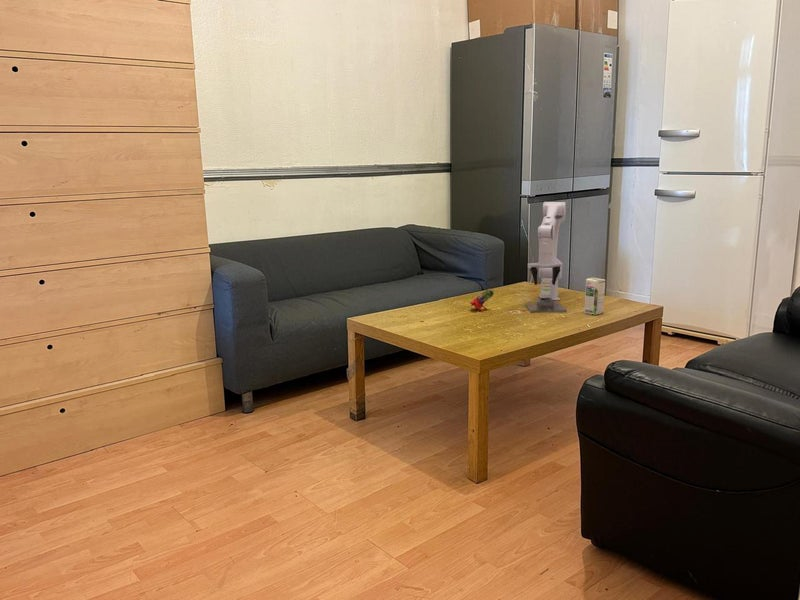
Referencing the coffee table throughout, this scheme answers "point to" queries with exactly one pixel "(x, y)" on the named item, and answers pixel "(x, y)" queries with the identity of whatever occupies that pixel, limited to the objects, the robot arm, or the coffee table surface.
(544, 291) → the column
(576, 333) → the coffee table surface
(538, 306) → the metal plate with socket
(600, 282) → the syrup box
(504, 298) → the coffee table surface
